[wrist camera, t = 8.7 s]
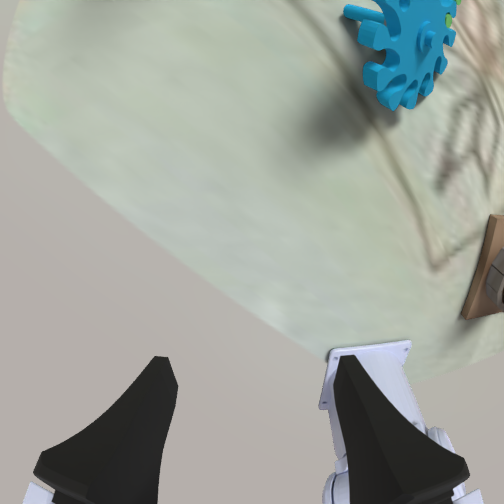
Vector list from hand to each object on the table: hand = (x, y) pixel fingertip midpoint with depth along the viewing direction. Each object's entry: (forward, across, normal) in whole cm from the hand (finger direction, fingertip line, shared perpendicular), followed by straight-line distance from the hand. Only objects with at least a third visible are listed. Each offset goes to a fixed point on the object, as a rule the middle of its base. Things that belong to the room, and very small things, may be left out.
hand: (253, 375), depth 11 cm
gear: (+10, -9, -16) cm, 21 cm away
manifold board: (+9, -27, +1) cm, 29 cm away
